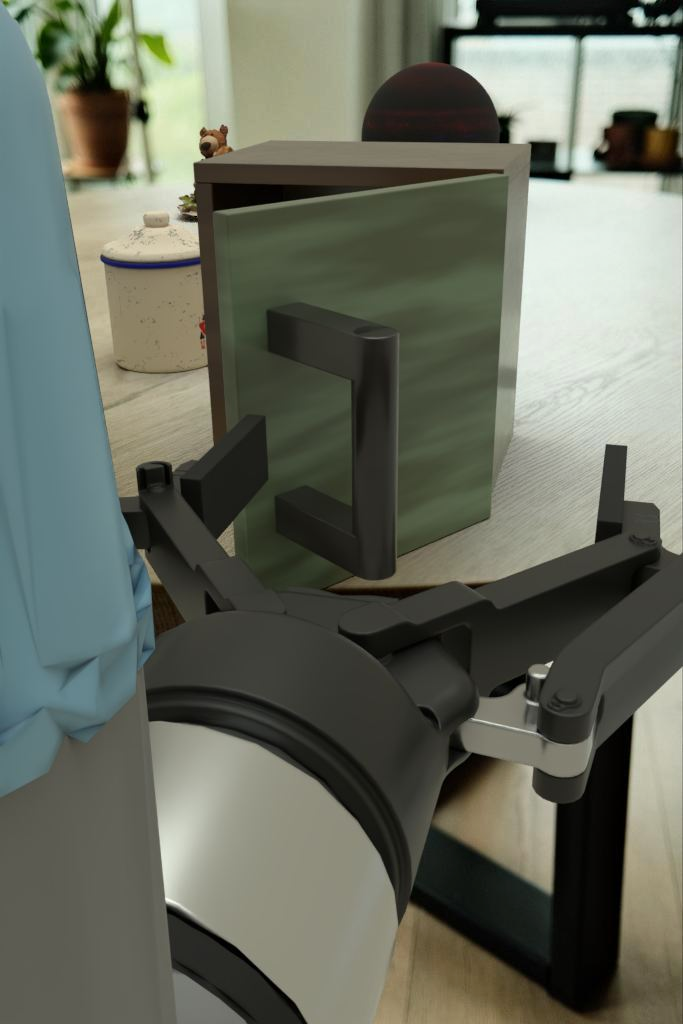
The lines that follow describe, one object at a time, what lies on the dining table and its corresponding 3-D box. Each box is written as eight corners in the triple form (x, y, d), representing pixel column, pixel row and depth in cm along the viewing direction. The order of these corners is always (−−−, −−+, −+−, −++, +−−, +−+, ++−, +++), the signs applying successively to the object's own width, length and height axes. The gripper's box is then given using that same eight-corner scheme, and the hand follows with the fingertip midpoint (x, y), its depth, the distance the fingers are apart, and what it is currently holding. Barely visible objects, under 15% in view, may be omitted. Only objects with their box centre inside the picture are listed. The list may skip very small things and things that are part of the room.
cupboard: (486, 511, 56) (504, 168, 48) (215, 482, 60) (192, 162, 52) (513, 435, 66) (531, 143, 59) (281, 415, 70) (269, 140, 63)
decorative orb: (477, 196, 162) (483, 59, 154) (511, 216, 144) (520, 62, 136) (353, 200, 160) (352, 62, 152) (372, 221, 142) (372, 65, 134)
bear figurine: (161, 222, 144) (153, 130, 139) (199, 206, 157) (193, 122, 152) (252, 225, 141) (248, 131, 136) (283, 208, 154) (280, 122, 149)
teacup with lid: (229, 371, 80) (219, 218, 75) (111, 379, 78) (93, 224, 73) (217, 332, 90) (208, 196, 86) (113, 338, 89) (97, 200, 84)
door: (587, 558, 51) (625, 187, 43) (343, 682, 41) (337, 236, 34) (477, 511, 56) (493, 173, 48) (237, 611, 46) (211, 211, 39)
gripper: (-252, 884, 25) (136, 518, 43) (872, 1149, 18) (763, 589, 37) (-346, 617, 21) (117, 345, 40) (977, 830, 15) (800, 391, 34)
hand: (427, 462), depth 38 cm, fingers open, 13 cm apart
